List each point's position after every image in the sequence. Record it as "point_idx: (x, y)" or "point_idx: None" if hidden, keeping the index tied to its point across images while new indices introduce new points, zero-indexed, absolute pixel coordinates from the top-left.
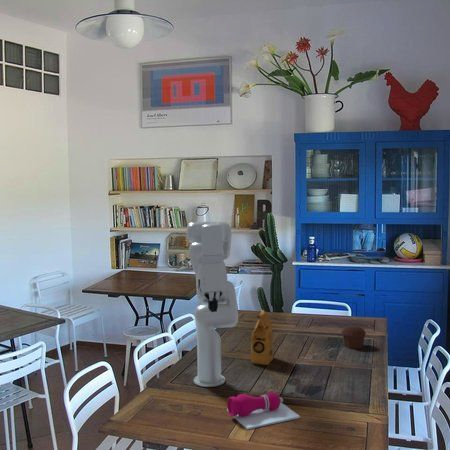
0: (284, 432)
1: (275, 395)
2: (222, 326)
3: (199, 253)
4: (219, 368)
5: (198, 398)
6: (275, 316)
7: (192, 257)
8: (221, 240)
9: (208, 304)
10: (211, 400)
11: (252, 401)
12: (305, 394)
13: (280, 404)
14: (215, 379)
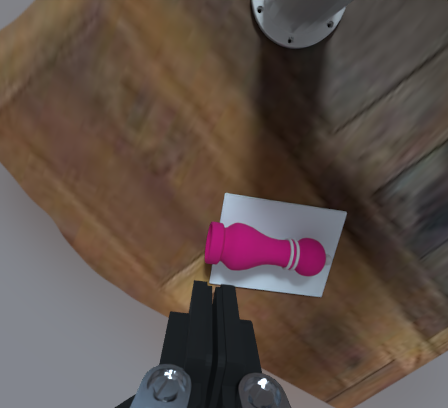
0: (257, 320)
1: (312, 274)
2: None
3: None
4: (328, 19)
5: (206, 91)
6: None
7: None
8: None
9: (164, 341)
10: (227, 123)
11: (252, 267)
12: (417, 221)
13: (332, 239)
14: (299, 32)
